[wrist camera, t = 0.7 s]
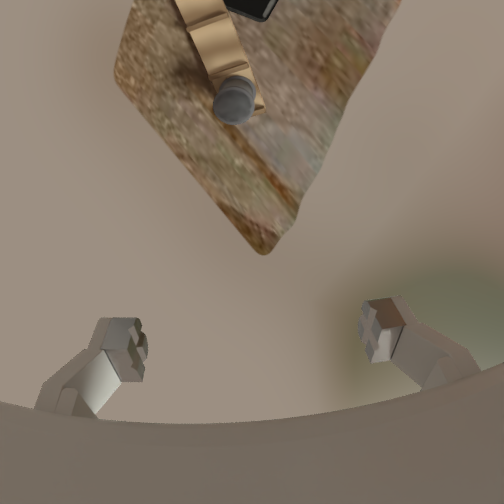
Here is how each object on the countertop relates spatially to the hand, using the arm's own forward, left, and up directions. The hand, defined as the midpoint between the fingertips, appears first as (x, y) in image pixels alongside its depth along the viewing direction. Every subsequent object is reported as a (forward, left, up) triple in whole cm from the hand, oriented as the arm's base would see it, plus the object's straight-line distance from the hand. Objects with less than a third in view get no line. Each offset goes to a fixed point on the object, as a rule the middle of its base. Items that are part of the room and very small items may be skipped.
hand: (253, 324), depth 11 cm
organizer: (-5, -6, -46) cm, 46 cm away
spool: (+4, -6, -44) cm, 45 cm away
